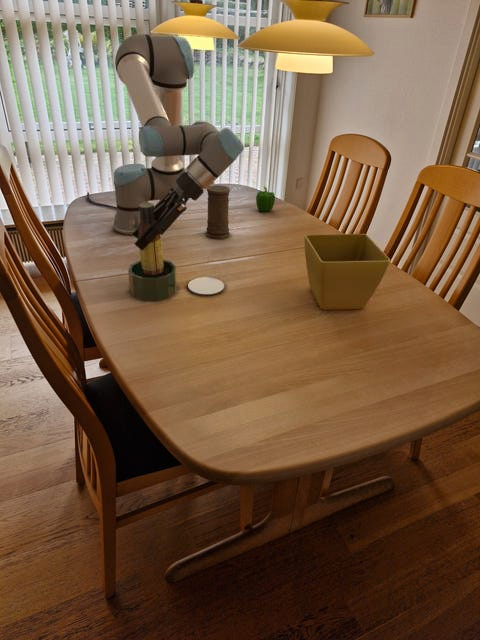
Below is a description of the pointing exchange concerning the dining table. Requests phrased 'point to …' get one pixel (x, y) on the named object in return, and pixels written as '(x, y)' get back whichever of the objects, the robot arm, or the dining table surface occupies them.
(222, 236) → the container
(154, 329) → the dining table surface
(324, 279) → the flower pot
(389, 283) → the dining table surface
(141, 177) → the robot arm
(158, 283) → the crock
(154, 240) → the sauce bottle
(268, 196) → the bell pepper
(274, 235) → the dining table surface
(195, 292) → the coaster
